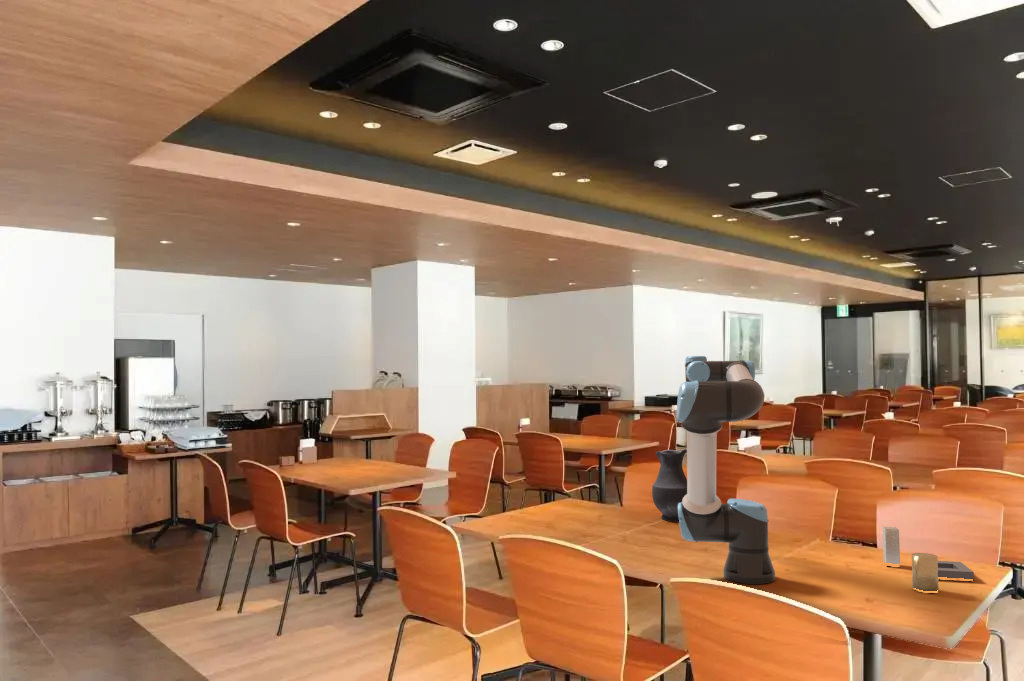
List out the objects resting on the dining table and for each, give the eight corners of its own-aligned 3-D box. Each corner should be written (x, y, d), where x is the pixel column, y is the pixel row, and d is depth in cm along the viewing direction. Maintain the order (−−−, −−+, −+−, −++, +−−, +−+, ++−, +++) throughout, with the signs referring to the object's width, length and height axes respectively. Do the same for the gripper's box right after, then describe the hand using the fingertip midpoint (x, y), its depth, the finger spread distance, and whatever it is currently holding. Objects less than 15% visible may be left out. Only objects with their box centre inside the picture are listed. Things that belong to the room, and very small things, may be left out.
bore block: (974, 582, 222) (973, 572, 222) (929, 579, 225) (928, 569, 225) (960, 571, 234) (960, 561, 234) (918, 569, 237) (918, 559, 237)
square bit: (900, 567, 239) (899, 529, 239) (886, 567, 240) (885, 529, 240) (897, 564, 243) (896, 527, 243) (883, 563, 244) (882, 526, 244)
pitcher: (664, 513, 331) (663, 445, 332) (708, 519, 318) (707, 447, 319) (645, 519, 318) (643, 448, 319) (690, 525, 305) (688, 451, 306)
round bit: (941, 594, 210) (940, 558, 211) (916, 593, 212) (914, 557, 213) (934, 588, 217) (933, 553, 217) (910, 586, 218) (909, 552, 219)
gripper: (685, 398, 276) (687, 456, 275) (686, 401, 252) (687, 464, 251) (706, 398, 275) (708, 457, 274) (709, 401, 250) (710, 465, 249)
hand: (698, 461), depth 262 cm, fingers open, 13 cm apart
